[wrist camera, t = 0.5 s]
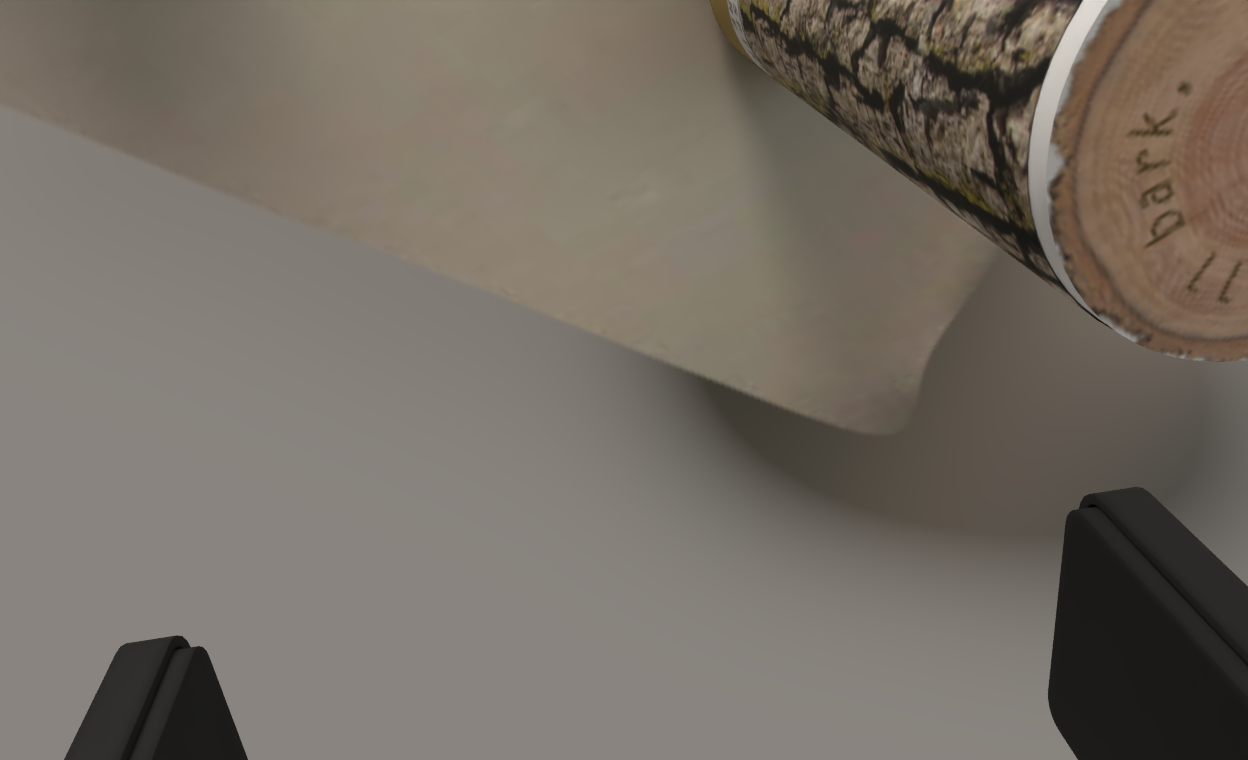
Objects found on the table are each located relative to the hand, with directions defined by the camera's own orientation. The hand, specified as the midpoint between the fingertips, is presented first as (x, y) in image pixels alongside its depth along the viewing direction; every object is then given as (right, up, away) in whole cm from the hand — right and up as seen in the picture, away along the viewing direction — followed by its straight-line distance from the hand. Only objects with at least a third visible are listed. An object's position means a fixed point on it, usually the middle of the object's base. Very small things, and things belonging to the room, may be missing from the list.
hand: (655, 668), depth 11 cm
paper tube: (+6, +17, +25) cm, 31 cm away
